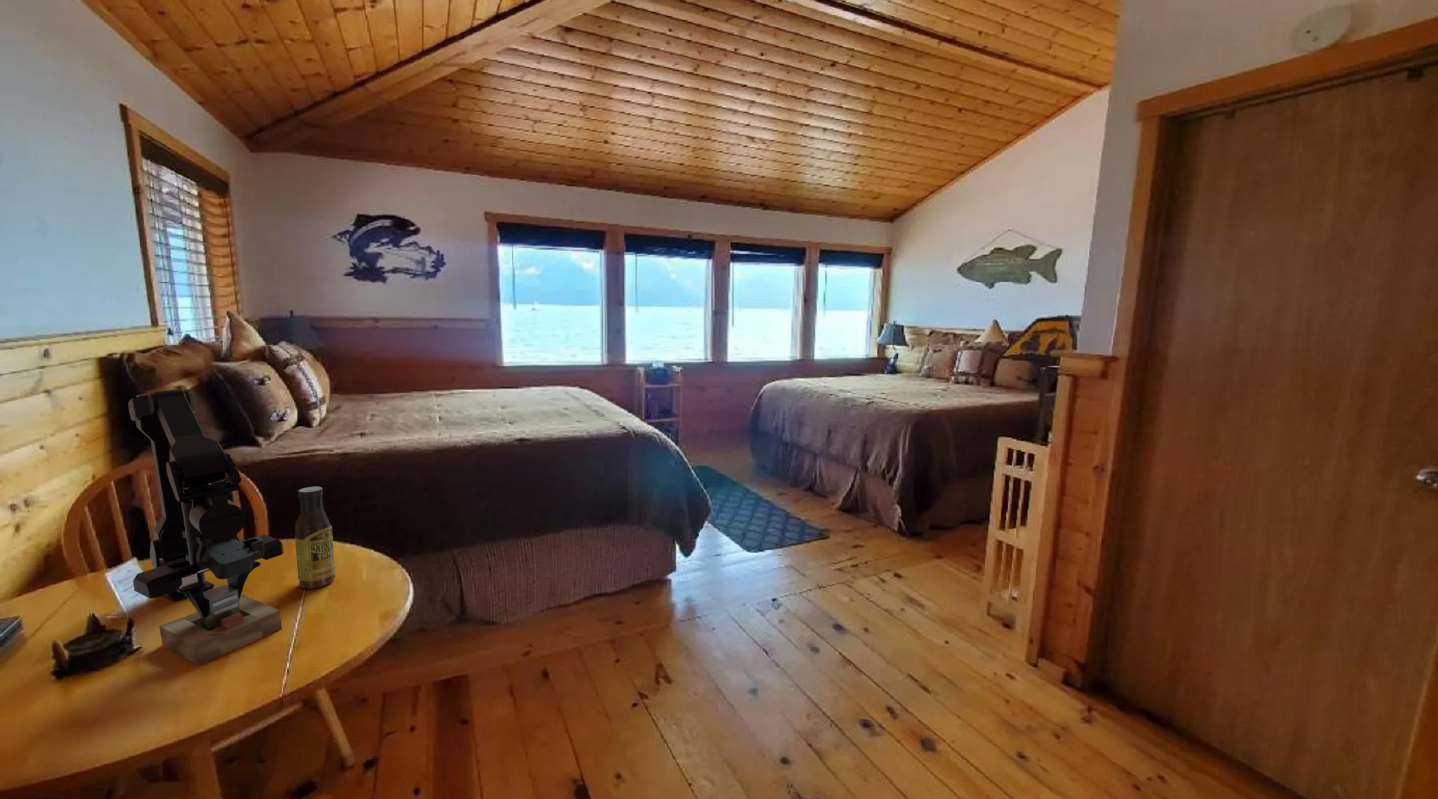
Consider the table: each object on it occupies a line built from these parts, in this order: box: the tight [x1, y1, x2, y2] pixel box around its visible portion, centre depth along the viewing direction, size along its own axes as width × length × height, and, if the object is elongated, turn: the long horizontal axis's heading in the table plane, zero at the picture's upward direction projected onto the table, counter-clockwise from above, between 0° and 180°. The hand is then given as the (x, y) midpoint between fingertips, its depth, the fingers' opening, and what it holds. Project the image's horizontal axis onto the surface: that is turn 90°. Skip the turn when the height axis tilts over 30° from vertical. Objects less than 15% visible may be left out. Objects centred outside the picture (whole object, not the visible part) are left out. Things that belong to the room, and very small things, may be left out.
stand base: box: [159, 594, 283, 666], centre depth 101 cm, size 13×12×5 cm
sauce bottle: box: [294, 486, 336, 590], centre depth 120 cm, size 7×6×20 cm
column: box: [200, 584, 241, 631], centre depth 101 cm, size 5×4×8 cm
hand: (220, 610), depth 101 cm, fingers closed on column, 4 cm apart
